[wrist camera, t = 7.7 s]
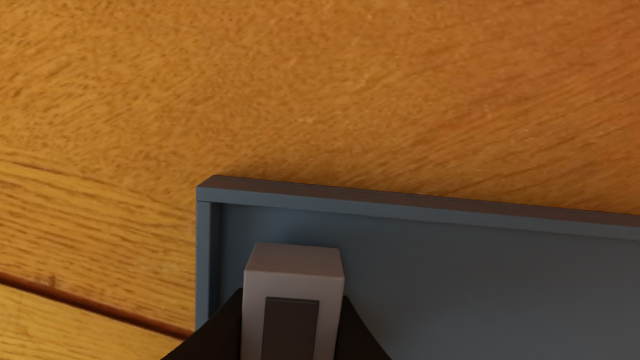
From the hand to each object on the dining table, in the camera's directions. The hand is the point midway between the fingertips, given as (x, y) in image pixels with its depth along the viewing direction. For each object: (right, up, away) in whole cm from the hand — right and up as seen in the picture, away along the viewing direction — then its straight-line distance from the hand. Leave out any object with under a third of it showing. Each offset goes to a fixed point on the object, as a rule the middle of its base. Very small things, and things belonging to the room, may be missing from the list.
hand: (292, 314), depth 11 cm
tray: (+9, -1, +1) cm, 10 cm away
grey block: (0, 0, 0) cm, 0 cm away
